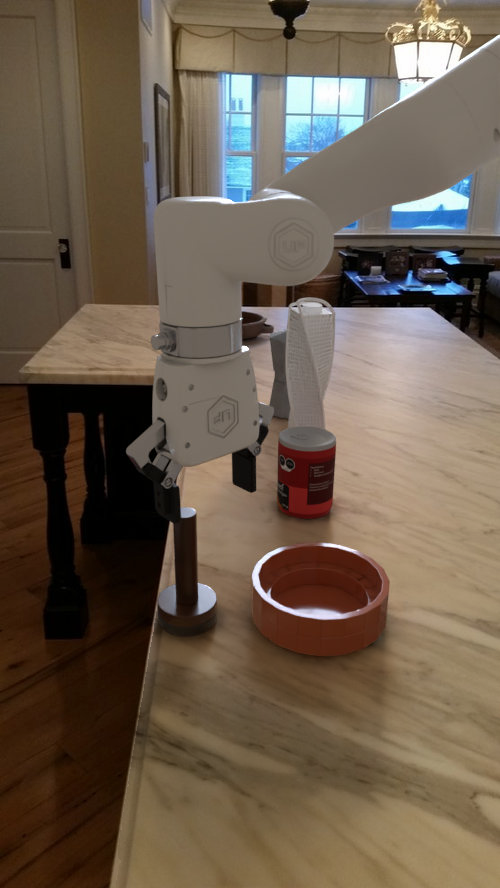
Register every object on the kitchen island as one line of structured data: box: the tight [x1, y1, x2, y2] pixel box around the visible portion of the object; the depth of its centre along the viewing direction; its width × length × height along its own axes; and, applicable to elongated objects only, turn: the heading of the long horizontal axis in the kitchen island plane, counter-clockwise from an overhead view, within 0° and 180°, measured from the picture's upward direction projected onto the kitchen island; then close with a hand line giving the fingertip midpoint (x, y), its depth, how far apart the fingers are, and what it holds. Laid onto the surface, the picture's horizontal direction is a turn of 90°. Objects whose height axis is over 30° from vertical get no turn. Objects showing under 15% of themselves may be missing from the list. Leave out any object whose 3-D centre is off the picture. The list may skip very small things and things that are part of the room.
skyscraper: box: [286, 297, 336, 430], centre depth 107 cm, size 8×8×28 cm
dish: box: [242, 310, 275, 340], centre depth 193 cm, size 18×22×5 cm
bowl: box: [250, 541, 391, 657], centre depth 76 cm, size 15×15×5 cm
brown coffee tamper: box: [157, 506, 218, 637], centre depth 74 cm, size 6×6×13 cm
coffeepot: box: [268, 328, 290, 420], centre depth 133 cm, size 15×9×18 cm, turn 19°
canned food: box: [276, 426, 337, 520], centre depth 99 cm, size 8×8×11 cm
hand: (208, 502), depth 72 cm, fingers open, 9 cm apart
